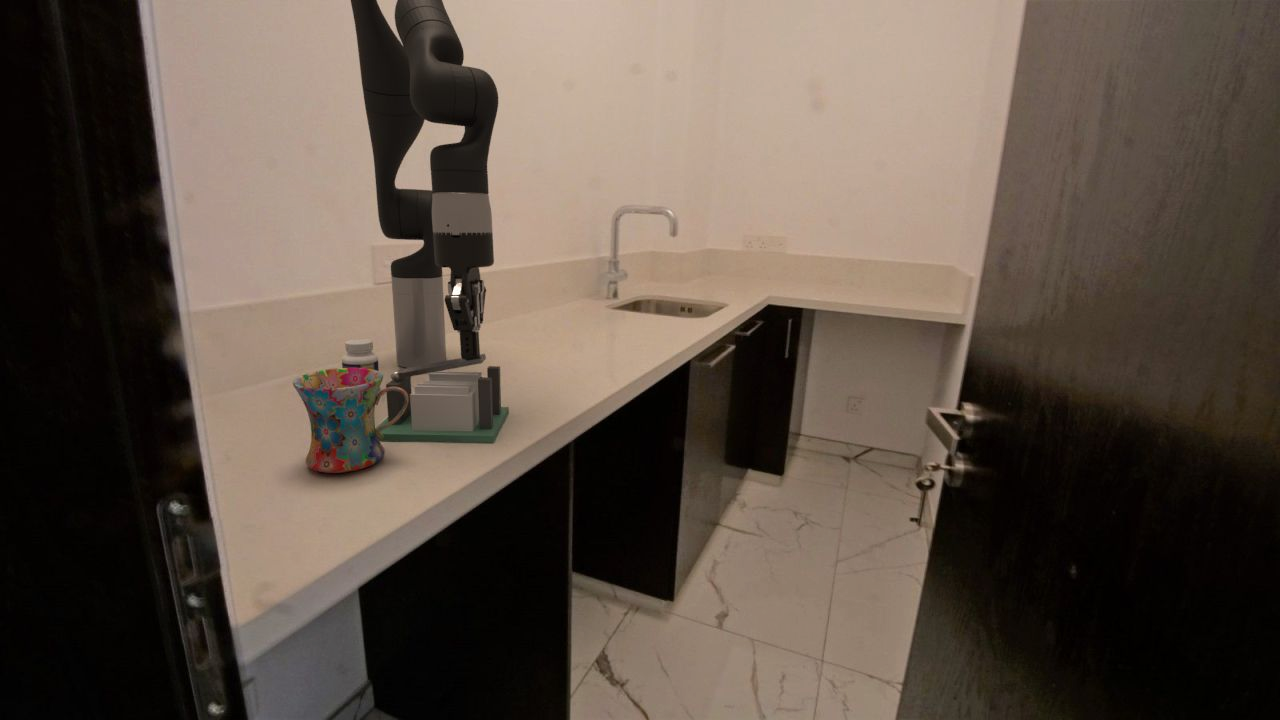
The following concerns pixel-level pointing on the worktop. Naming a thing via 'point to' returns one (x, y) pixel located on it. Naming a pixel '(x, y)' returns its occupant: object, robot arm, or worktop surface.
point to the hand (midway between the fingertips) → (470, 358)
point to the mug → (344, 417)
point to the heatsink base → (447, 408)
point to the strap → (436, 367)
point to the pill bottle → (360, 355)
